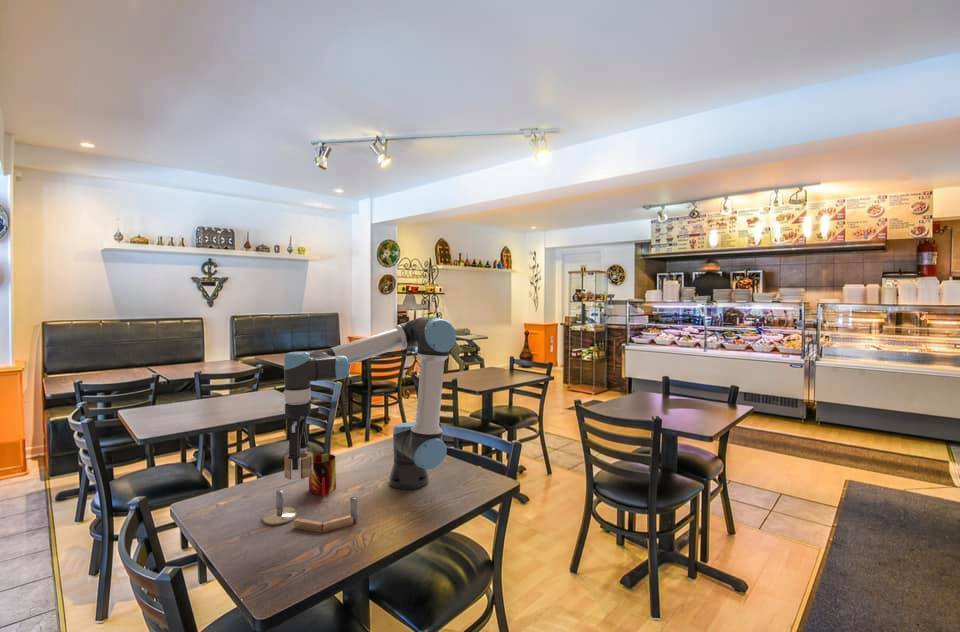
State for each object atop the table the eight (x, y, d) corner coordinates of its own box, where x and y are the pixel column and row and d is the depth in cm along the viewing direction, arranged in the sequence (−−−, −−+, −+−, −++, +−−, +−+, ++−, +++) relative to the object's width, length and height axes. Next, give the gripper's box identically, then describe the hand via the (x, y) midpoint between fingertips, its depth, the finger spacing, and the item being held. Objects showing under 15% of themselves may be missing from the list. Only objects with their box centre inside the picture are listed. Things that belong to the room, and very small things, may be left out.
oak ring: (314, 469, 152) (314, 450, 152) (310, 478, 144) (309, 459, 144) (288, 470, 151) (288, 452, 151) (282, 480, 143) (282, 460, 143)
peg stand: (299, 509, 161) (298, 483, 161) (292, 524, 151) (291, 496, 151) (268, 511, 160) (267, 485, 159) (259, 526, 150) (258, 498, 149)
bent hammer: (357, 520, 153) (357, 496, 153) (355, 529, 147) (355, 504, 147) (295, 525, 150) (294, 500, 150) (290, 534, 145) (289, 509, 144)
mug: (323, 501, 168) (322, 467, 167) (304, 490, 177) (303, 458, 177) (347, 492, 175) (346, 460, 174) (327, 482, 184) (327, 452, 184)
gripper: (292, 395, 156) (294, 462, 157) (276, 410, 136) (277, 488, 137) (316, 394, 157) (317, 461, 159) (303, 409, 137) (305, 486, 138)
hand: (299, 473), depth 148 cm, fingers closed on oak ring, 8 cm apart
